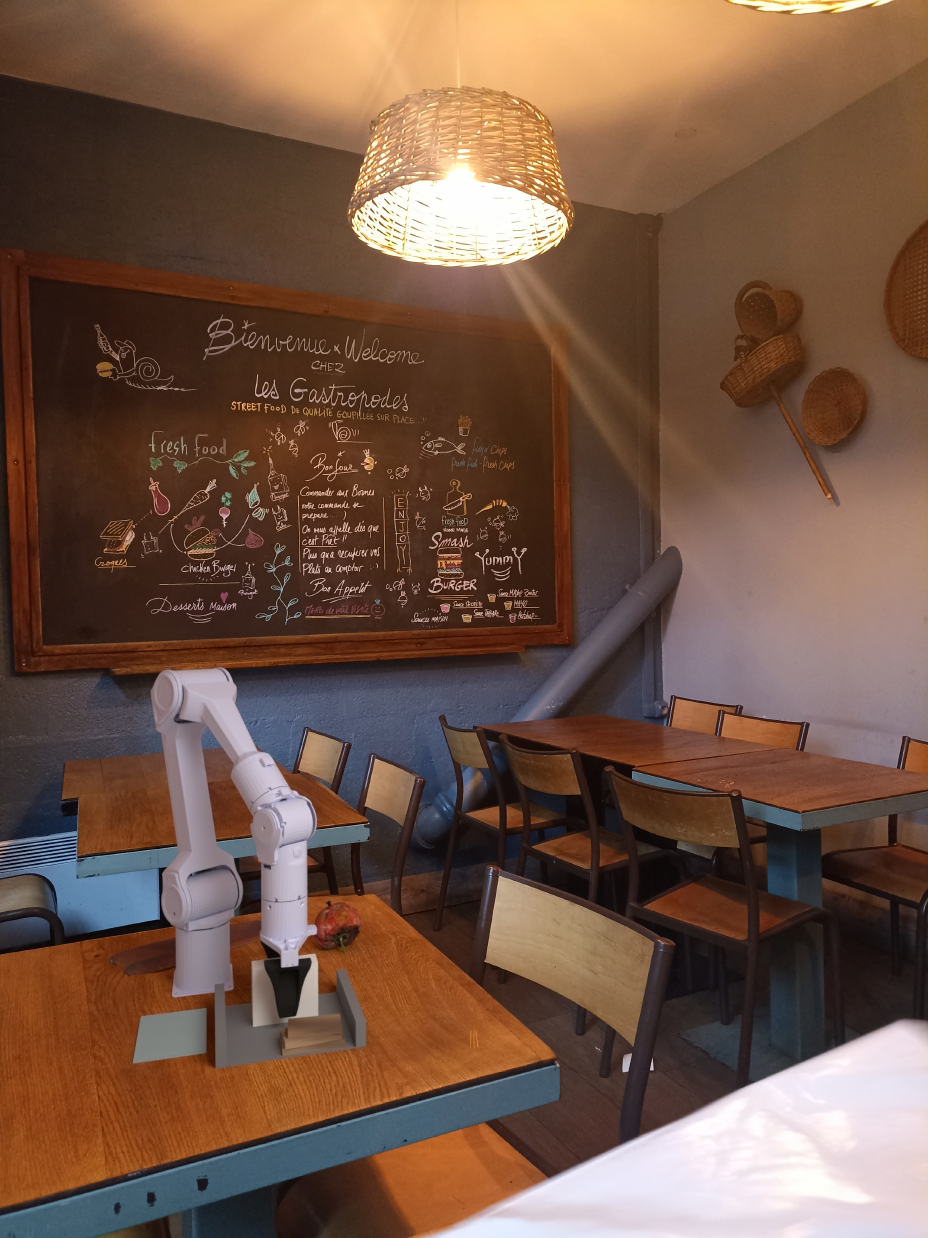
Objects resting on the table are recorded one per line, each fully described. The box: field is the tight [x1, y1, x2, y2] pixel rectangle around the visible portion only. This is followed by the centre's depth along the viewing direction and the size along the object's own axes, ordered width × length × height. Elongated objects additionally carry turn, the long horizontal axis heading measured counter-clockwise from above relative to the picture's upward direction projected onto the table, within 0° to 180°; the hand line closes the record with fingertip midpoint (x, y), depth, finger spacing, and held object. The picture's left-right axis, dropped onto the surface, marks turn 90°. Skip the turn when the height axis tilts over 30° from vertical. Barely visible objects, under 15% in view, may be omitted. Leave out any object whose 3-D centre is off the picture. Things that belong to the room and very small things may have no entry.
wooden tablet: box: [109, 919, 261, 976], centre depth 135 cm, size 27×10×2 cm, turn 135°
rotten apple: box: [314, 900, 363, 955], centre depth 133 cm, size 7×7×10 cm
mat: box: [132, 1007, 208, 1064], centre depth 104 cm, size 12×8×1 cm, turn 17°
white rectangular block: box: [251, 953, 319, 1027], centre depth 108 cm, size 3×8×7 cm, turn 107°
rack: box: [214, 968, 367, 1069], centre depth 106 cm, size 16×17×4 cm
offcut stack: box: [280, 1014, 345, 1056], centre depth 101 cm, size 4×7×2 cm, turn 107°
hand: (285, 1003), depth 108 cm, fingers open, 7 cm apart
